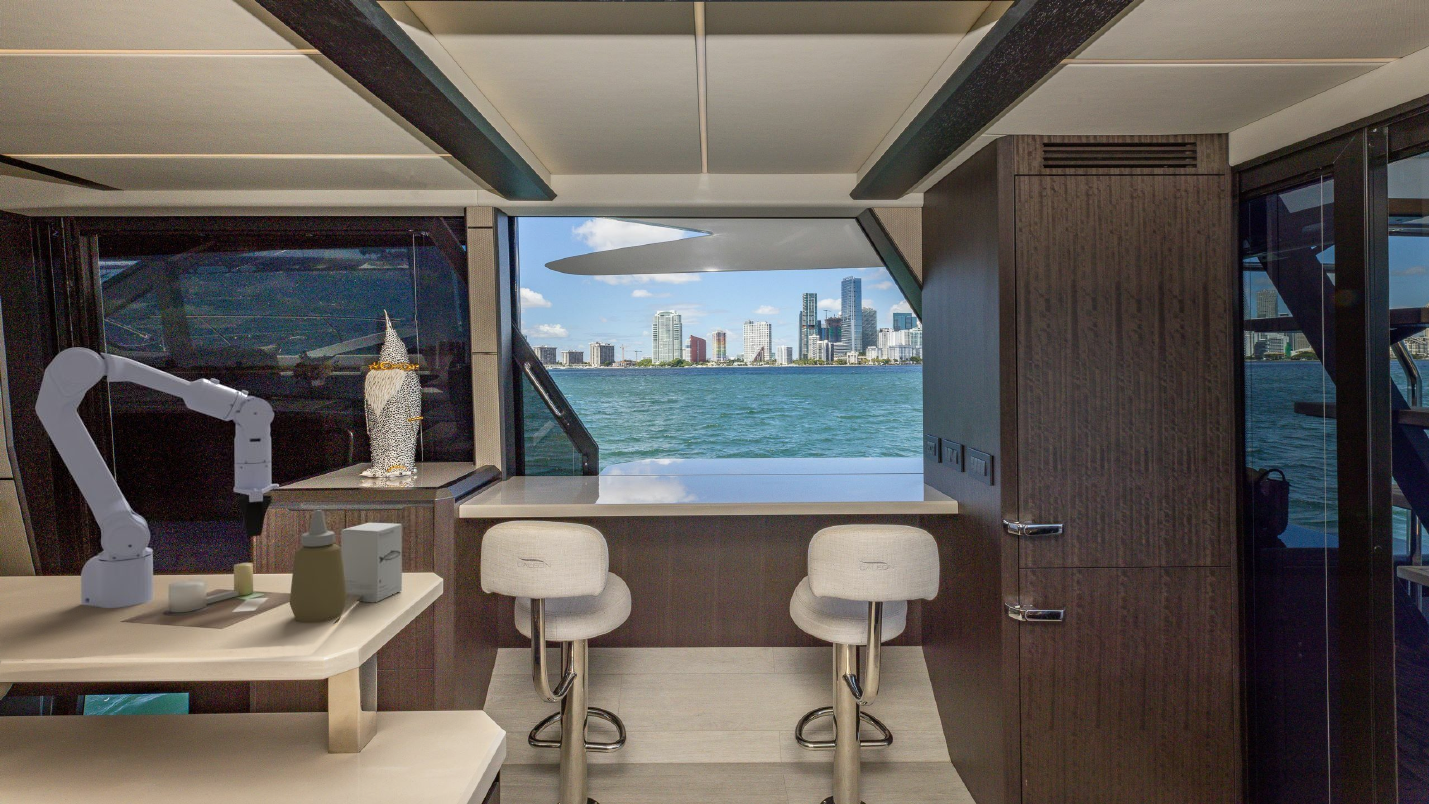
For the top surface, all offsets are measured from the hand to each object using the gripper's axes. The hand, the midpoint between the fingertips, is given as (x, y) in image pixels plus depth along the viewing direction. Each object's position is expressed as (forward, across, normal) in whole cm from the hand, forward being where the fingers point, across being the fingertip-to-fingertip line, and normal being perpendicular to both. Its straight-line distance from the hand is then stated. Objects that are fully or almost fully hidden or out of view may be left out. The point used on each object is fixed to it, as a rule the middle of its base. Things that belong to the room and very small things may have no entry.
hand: (253, 535), depth 135 cm
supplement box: (+10, -17, -17) cm, 26 cm away
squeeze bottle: (+10, -28, -7) cm, 31 cm away
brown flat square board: (+10, -14, +6) cm, 18 cm away
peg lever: (+8, -11, +6) cm, 15 cm away
